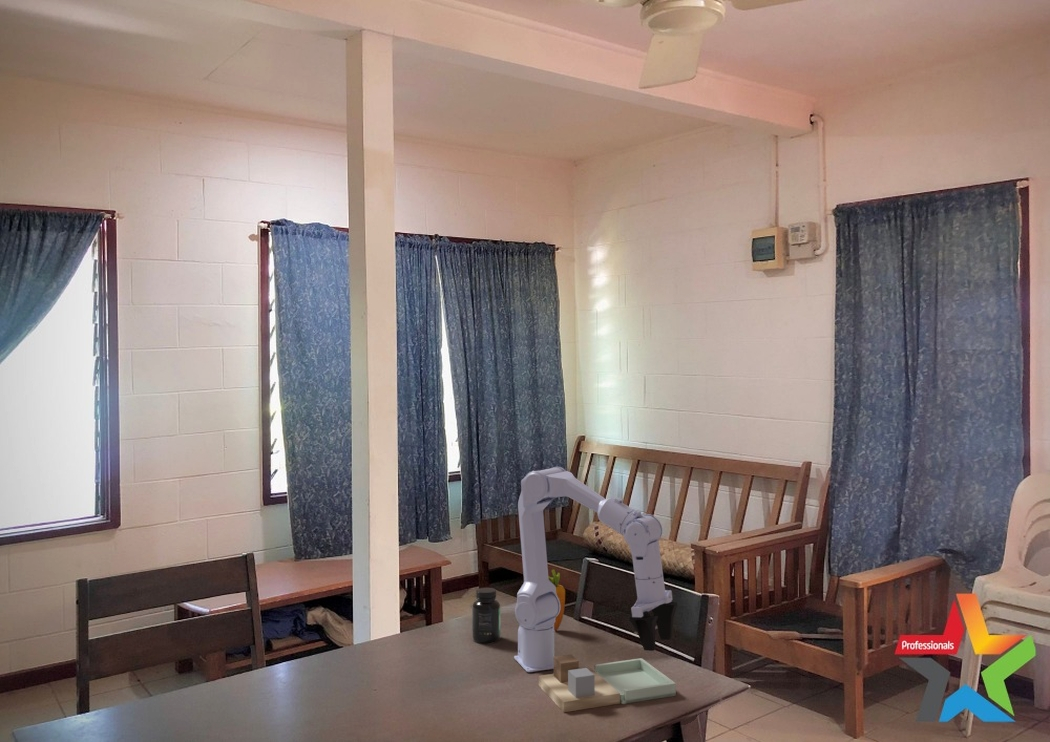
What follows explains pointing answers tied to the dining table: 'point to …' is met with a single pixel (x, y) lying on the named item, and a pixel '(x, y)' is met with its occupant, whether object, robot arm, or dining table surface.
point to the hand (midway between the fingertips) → (657, 644)
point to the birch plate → (570, 703)
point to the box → (636, 680)
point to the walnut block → (564, 667)
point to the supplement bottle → (486, 617)
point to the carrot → (561, 595)
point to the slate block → (581, 682)
